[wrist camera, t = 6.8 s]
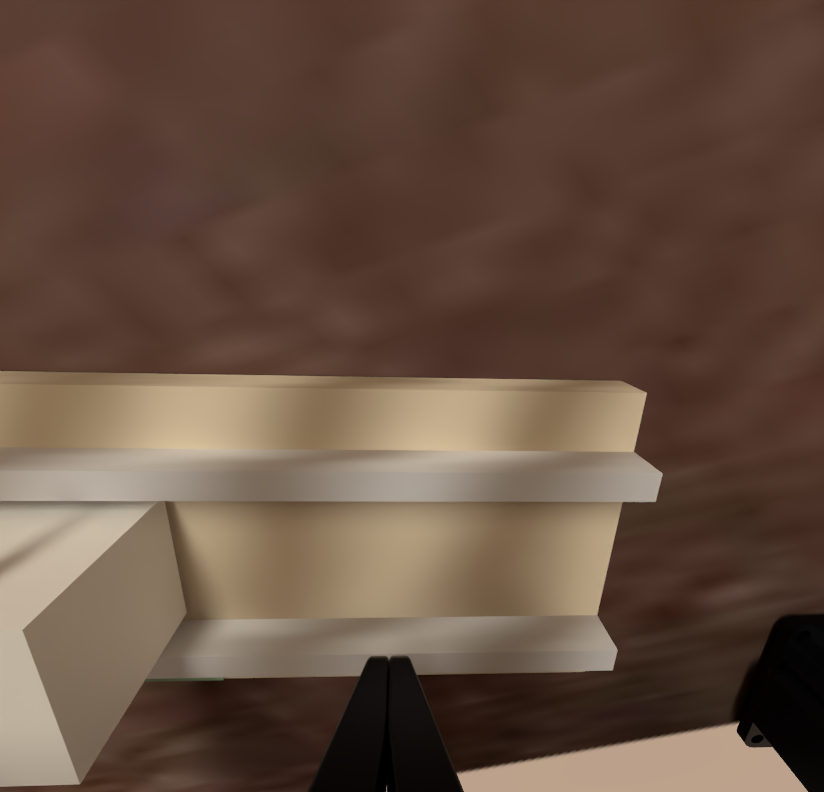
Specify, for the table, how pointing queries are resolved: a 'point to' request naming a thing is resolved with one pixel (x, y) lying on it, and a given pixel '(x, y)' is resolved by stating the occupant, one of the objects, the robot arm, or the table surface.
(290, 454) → the board
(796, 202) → the table surface
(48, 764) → the tuning slider
